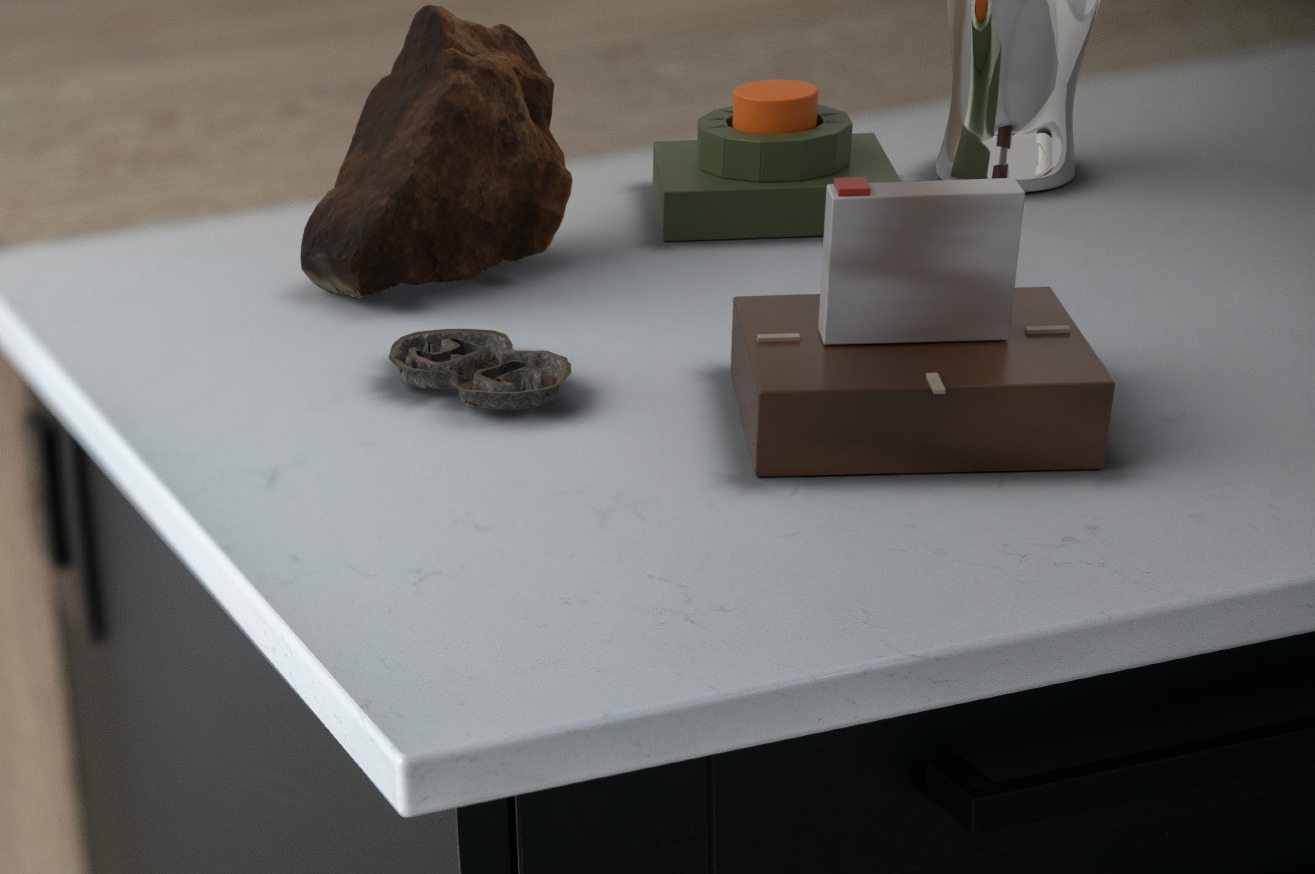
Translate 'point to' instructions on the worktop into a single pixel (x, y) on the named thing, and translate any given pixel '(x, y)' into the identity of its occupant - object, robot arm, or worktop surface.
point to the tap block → (918, 395)
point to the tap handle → (919, 260)
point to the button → (775, 106)
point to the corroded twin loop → (480, 367)
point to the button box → (759, 177)
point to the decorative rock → (443, 165)
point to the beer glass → (1014, 89)
